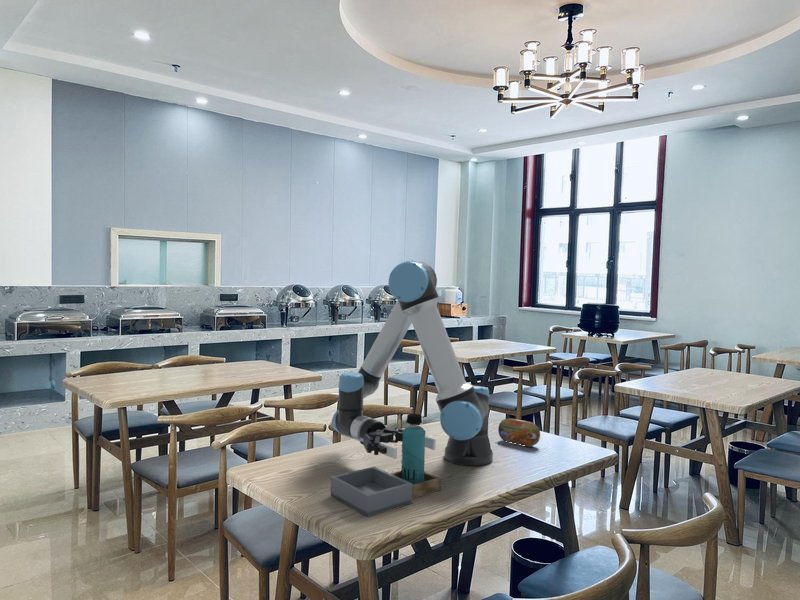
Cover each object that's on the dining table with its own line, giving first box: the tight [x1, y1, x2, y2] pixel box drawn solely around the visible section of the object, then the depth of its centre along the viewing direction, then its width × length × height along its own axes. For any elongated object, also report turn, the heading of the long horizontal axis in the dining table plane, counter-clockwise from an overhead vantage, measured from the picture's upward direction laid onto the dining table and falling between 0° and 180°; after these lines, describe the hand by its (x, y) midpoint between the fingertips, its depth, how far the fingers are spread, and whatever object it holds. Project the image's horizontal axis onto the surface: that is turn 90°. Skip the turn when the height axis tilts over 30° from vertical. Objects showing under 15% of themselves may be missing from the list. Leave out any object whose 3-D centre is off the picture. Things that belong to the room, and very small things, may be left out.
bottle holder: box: [390, 470, 443, 499], centre depth 157 cm, size 11×11×3 cm
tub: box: [329, 466, 413, 518], centre depth 148 cm, size 14×16×5 cm
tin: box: [498, 418, 541, 448], centre depth 201 cm, size 15×3×8 cm, turn 50°
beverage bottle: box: [400, 413, 426, 485], centre depth 156 cm, size 6×7×20 cm
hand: (415, 449), depth 155 cm, fingers open, 13 cm apart
